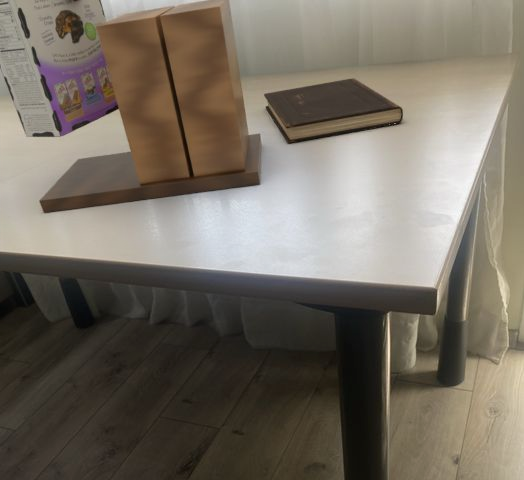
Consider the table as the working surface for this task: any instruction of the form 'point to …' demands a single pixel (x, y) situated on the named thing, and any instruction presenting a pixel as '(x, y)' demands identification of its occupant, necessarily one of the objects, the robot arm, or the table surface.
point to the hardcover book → (330, 110)
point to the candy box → (55, 64)
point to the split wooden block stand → (169, 111)
